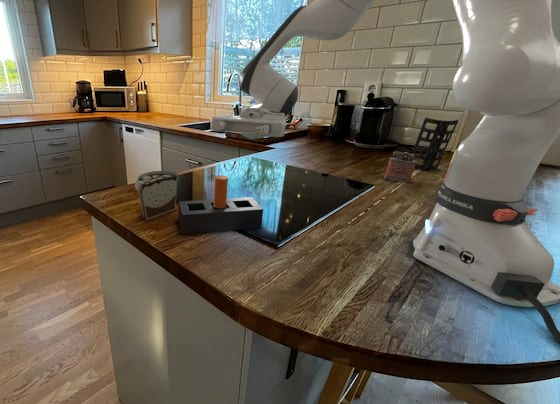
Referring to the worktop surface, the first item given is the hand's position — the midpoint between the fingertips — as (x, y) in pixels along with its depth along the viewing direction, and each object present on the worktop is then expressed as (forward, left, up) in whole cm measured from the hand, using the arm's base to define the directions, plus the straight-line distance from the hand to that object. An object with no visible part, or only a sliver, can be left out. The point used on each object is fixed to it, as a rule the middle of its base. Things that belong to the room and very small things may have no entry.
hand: (239, 129), depth 74 cm
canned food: (+3, -82, -21) cm, 85 cm away
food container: (0, +22, -21) cm, 31 cm away
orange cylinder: (-10, +7, -21) cm, 24 cm away
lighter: (+13, -65, -21) cm, 70 cm away
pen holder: (-10, +7, -21) cm, 24 cm away
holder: (+24, -88, -21) cm, 94 cm away
